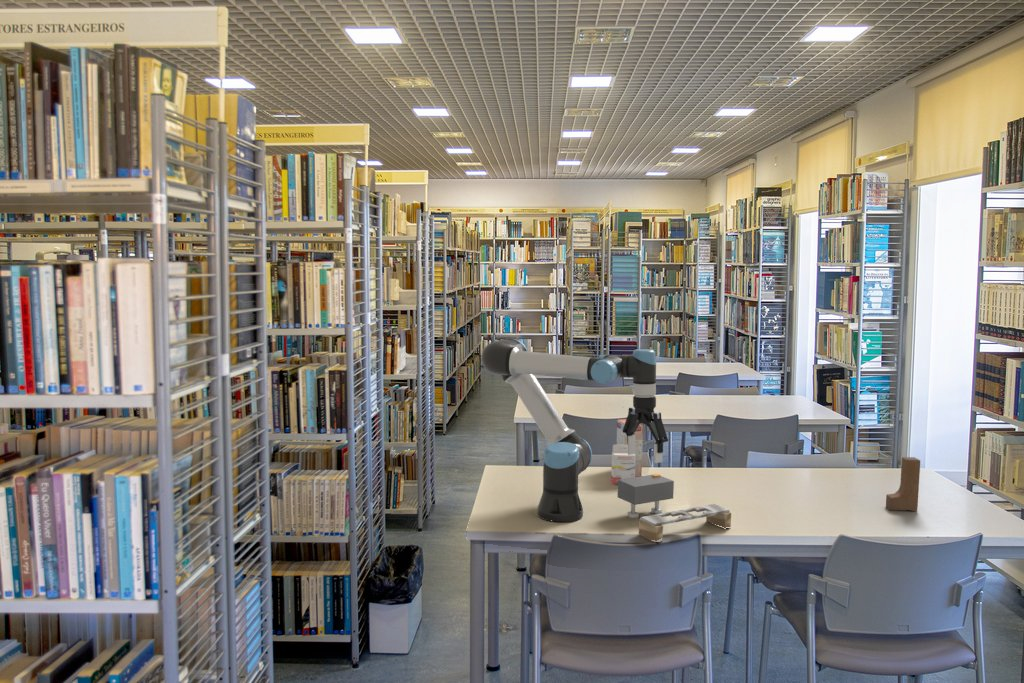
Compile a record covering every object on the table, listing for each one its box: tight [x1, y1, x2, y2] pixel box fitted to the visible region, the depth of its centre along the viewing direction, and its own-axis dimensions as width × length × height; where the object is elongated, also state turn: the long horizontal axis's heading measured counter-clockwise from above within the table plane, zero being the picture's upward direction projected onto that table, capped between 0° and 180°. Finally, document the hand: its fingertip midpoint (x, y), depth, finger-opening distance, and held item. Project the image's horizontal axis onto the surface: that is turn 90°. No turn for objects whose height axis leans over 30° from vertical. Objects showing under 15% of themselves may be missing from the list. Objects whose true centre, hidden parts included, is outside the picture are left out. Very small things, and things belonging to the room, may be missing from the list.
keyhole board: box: [638, 503, 732, 541], centre depth 235 cm, size 30×8×6 cm, turn 118°
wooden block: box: [885, 456, 921, 512], centre depth 260 cm, size 9×4×18 cm, turn 86°
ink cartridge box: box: [610, 444, 636, 485], centre depth 289 cm, size 9×5×15 cm, turn 92°
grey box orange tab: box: [617, 473, 675, 519], centre depth 251 cm, size 16×9×12 cm, turn 118°
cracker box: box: [616, 418, 644, 477], centre depth 303 cm, size 14×6×21 cm, turn 13°
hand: (644, 458), depth 252 cm, fingers open, 13 cm apart
